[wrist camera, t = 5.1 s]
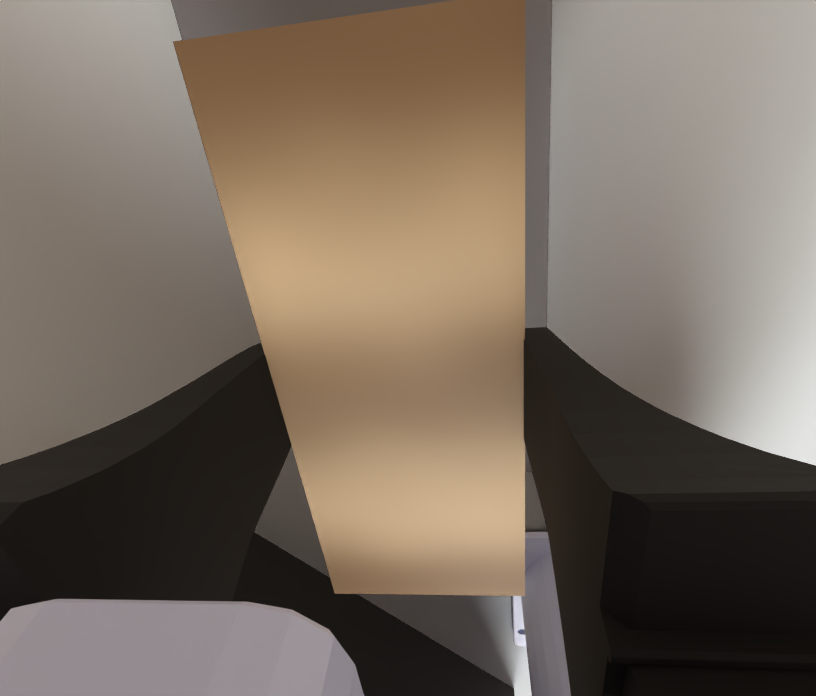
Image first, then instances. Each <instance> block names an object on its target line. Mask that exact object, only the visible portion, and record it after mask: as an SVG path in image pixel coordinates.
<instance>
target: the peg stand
mask: <svg viewBox="0 0 816 696" xmlns="http://www.w3.org/2000/svg"><path fill="white" fill-rule="evenodd" d="M447 1H454V0H171V2H172V6H173V9H174V13H175V16H176V20H177V23H178V27H179V30H180V34H181V37H182V40H188V39H195V38H201V37H208V36H215V35H222V34H229V33H235V32H242V31H249V30H256V29H263V28H270V27H276V26H283V25H290V24H297V23H304V22H310V21H317V20H324V19H331V18H338V17H344V16H351V15H358V14H365V13H372V12H379V11H385V10H392V9H399V8H406V7H413V6H419V5H426V4H433V3H440V2H447ZM551 27H552V0H525V328H536V327H547V268H548V208H549V147H550V87H551ZM525 472H532V469H531V465H530V461H529V457H528V454H527V450H526V446H525Z"/></svg>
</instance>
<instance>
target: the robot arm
mask: <svg viewBox="0 0 816 696" xmlns="http://www.w3.org/2000/svg"><path fill="white" fill-rule="evenodd" d="M524 442H525V446H526V450H527V454H528V457H529V461H530V465H531V469H532V473H533V477H534V480H535V484H536V488H537V492H538V496H539V499H540V503H541V507H542V511H543V515H544V518H545V523H546V528H547V532H525V596H512V607H513V638H514V643H515V644H516V645H518V646H522V647H527V656H528V664H529V673H530V682H531V691H532V696H816V466H815V465H811V464H807V463H804V462H800V461H797V460H793V459H789V458H786V457H782V456H779V455H775V454H771V453H768V452H765V451H762V450H759V449H756V448H753V447H750V446H747V445H744V444H741V443H739V442H736V441H733V440H730V439H727V438H724V437H722V436H719V435H717V434H714V433H711V432H709V431H706V430H704V429H701V428H699V427H697V426H695V425H692V424H690V423H688V422H686V421H683V420H681V419H679V418H677V417H674V416H672V415H670V414H668V413H666V412H664V411H662V410H660V409H658V408H656V407H654V406H653V405H651V404H649V403H647V402H645V401H644V400H642V399H640V398H638V397H637V396H635V395H633V394H631V393H630V392H628V391H626V390H625V389H623V388H622V387H620V386H619V385H617V384H616V383H614V382H613V381H611V380H610V379H608V378H607V377H606V376H604V375H603V374H601V373H600V372H599V371H597V370H596V369H595V368H593V367H592V366H591V365H589V364H588V363H587V362H586V361H584V360H583V359H582V358H581V357H579V356H578V355H577V354H576V353H575V352H573V351H572V350H571V349H570V348H569V347H568V346H567V345H566V344H564V343H563V342H562V341H561V340H560V339H559V338H558V337H557V336H556V335H555V334H553V333H552V332H551V331H550V330H549V329H548V328H547V327H536V328H525V340H524ZM290 448H291V441H290V438H289V435H288V431H287V428H286V424H285V421H284V418H283V414H282V411H281V407H280V404H279V401H278V397H277V394H276V390H275V387H274V384H273V380H272V377H271V373H270V370H269V366H268V363H267V360H266V356H265V354H264V350H263V347H262V344H261V343H259V344H257V345H254V346H252V347H250V348H248V349H246V350H244V351H242V352H241V353H239V354H237V355H235V356H234V357H232V358H230V359H229V360H227V361H226V362H224V363H222V364H221V365H219V366H217V367H216V368H214V369H212V370H211V371H209V372H208V373H206V374H204V375H203V376H201V377H199V378H198V379H196V380H195V381H193V382H191V383H189V384H188V385H186V386H184V387H182V388H181V389H179V390H177V391H175V392H174V393H172V394H170V395H168V396H167V397H165V398H163V399H161V400H160V401H158V402H156V403H154V404H152V405H150V406H148V407H146V408H144V409H143V410H141V411H139V412H137V413H135V414H132V415H130V416H128V417H126V418H124V419H122V420H120V421H117V422H115V423H113V424H111V425H109V426H106V427H104V428H102V429H99V430H97V431H94V432H92V433H89V434H87V435H84V436H82V437H79V438H77V439H74V440H72V441H69V442H67V443H64V444H62V445H59V446H56V447H54V448H51V449H48V450H45V451H42V452H39V453H36V454H33V455H30V456H28V457H25V458H21V459H18V460H15V461H12V462H9V463H5V464H2V465H0V696H364V694H363V690H362V687H361V683H360V680H359V677H358V673H357V670H356V666H355V664H354V662H353V661H352V660H351V658H350V657H349V656H348V654H347V653H346V652H345V650H344V649H343V648H342V646H341V645H340V643H339V642H338V641H337V639H336V638H335V637H334V635H333V634H332V633H331V631H330V630H329V629H327V628H325V627H323V626H322V625H320V624H318V623H316V622H314V621H312V620H310V619H309V618H307V617H305V616H303V615H301V614H299V613H297V612H296V611H294V610H291V609H285V608H280V607H274V606H269V605H263V604H258V603H252V602H233V601H232V600H233V596H234V593H235V589H236V586H237V582H238V579H239V576H240V572H241V569H242V566H243V563H244V560H245V557H246V554H247V550H248V547H249V544H250V541H251V538H252V535H253V533H254V530H255V528H256V525H257V523H258V520H259V518H260V516H261V514H262V511H263V509H264V507H265V505H266V502H267V500H268V498H269V496H270V493H271V491H272V489H273V487H274V484H275V482H276V480H277V478H278V476H279V473H280V471H281V469H282V466H283V464H284V462H285V460H286V457H287V455H288V453H289V450H290Z"/></svg>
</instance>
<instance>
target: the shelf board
mask: <svg viewBox="0 0 816 696" xmlns="http://www.w3.org/2000/svg"><path fill="white" fill-rule="evenodd" d="M173 43H174V47H175V50H176V54H177V57H178V61H179V64H180V67H181V71H182V74H183V78H184V81H185V84H186V88H187V91H188V95H189V98H190V101H191V105H192V108H193V112H194V115H195V118H196V122H197V125H198V129H199V132H200V136H201V139H202V142H203V146H204V149H205V153H206V156H207V159H208V163H209V166H210V170H211V173H212V176H213V180H214V183H215V187H216V190H217V194H218V197H219V200H220V204H221V207H222V211H223V214H224V217H225V221H226V224H227V228H228V231H229V234H230V238H231V241H232V245H233V248H234V252H235V255H236V258H237V262H238V265H239V269H240V272H241V275H242V279H243V282H244V286H245V289H246V292H247V296H248V299H249V303H250V306H251V310H252V313H253V316H254V320H255V323H256V327H257V330H258V333H259V337H260V340H261V344H262V347H263V350H264V354H265V356H266V360H267V363H268V366H269V370H270V373H271V377H272V380H273V384H274V387H275V390H276V394H277V397H278V401H279V404H280V407H281V411H282V414H283V418H284V421H285V424H286V428H287V431H288V435H289V438H290V441H291V446H292V449H293V453H294V456H295V460H296V463H297V466H298V470H299V473H300V477H301V480H302V484H303V487H304V490H305V494H306V497H307V501H308V504H309V507H310V511H311V514H312V518H313V521H314V524H315V528H316V531H317V535H318V538H319V542H320V545H321V548H322V552H323V555H324V559H325V562H326V565H327V569H328V572H329V576H330V579H331V582H332V586H333V589H334V593H335V594H408V595H483V596H525V442H524V340H525V0H454V1H447V2H440V3H433V4H426V5H419V6H413V7H406V8H399V9H392V10H385V11H379V12H372V13H365V14H358V15H351V16H344V17H338V18H331V19H324V20H317V21H310V22H304V23H297V24H290V25H283V26H276V27H270V28H263V29H256V30H249V31H242V32H235V33H229V34H222V35H215V36H208V37H201V38H195V39H188V40H181V41H174V42H173Z"/></svg>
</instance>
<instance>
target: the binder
mask: <svg viewBox="0 0 816 696" xmlns="http://www.w3.org/2000/svg"><path fill="white" fill-rule="evenodd" d="M232 601H233V602H252V603H258V604H263V605H269V606H274V607H280V608H285V609H291V610H294V611H296V612H297V613H299V614H301V615H303V616H305V617H307V618H309V619H310V620H312V621H314V622H316V623H318V624H320V625H322V626H323V627H325V628H327V629H329V630H330V631H331V633H332V634H333V635H334V637H335V638H336V639H337V641H338V642H339V643H340V645H341V646H342V648H343V649H344V650H345V652H346V653H347V654H348V656H349V657H350V658H351V660H352V661H353V662H354V664H355V666H356V670H357V673H358V677H359V680H360V683H361V687H362V690H363V694H364V696H514V688H512V687H510V686H509V685H507V684H505V683H504V682H502V681H500V680H499V679H497V678H495V677H494V676H492V675H490V674H489V673H487V672H485V671H484V670H482V669H480V668H479V667H477V666H475V665H474V664H472V663H470V662H469V661H467V660H465V659H464V658H462V657H460V656H459V655H457V654H455V653H454V652H452V651H450V650H449V649H447V648H445V647H444V646H442V645H440V644H439V643H437V642H435V641H434V640H432V639H430V638H429V637H427V636H426V635H424V634H422V633H421V632H419V631H417V630H416V629H414V628H412V627H411V626H409V625H407V624H406V623H404V622H402V621H401V620H399V619H397V618H396V617H394V616H392V615H391V614H389V613H387V612H386V611H384V610H382V609H381V608H379V607H377V606H376V605H374V604H372V603H371V602H369V601H367V600H366V599H364V598H362V597H361V596H359V595H357V594H335V593H334V589H333V586H332V582H331V579H330V578H329V577H328V576H326V575H324V574H323V573H321V572H319V571H318V570H316V569H314V568H313V567H311V566H309V565H308V564H306V563H304V562H303V561H301V560H299V559H298V558H296V557H294V556H293V555H291V554H289V553H288V552H286V551H284V550H283V549H281V548H279V547H278V546H276V545H274V544H273V543H271V542H269V541H268V540H266V539H264V538H263V537H261V536H259V535H258V534H256V533H253V535H252V538H251V541H250V544H249V547H248V550H247V554H246V557H245V560H244V563H243V566H242V569H241V572H240V576H239V579H238V582H237V586H236V589H235V593H234V596H233V600H232Z"/></svg>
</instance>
